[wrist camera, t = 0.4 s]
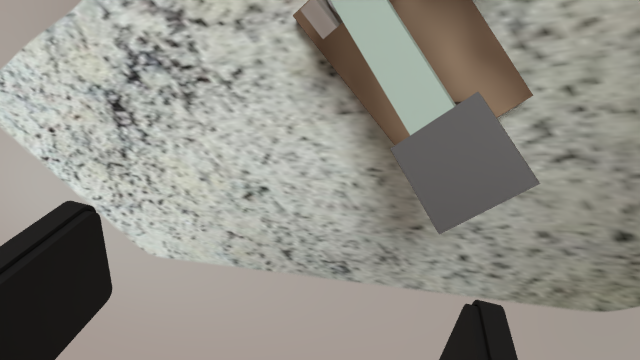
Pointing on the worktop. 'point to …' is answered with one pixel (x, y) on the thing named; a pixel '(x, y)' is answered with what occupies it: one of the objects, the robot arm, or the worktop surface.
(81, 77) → the worktop surface
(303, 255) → the worktop surface
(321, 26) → the press base
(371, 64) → the press lever
